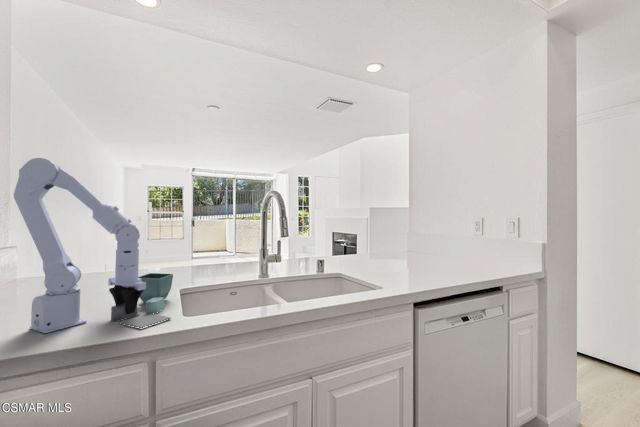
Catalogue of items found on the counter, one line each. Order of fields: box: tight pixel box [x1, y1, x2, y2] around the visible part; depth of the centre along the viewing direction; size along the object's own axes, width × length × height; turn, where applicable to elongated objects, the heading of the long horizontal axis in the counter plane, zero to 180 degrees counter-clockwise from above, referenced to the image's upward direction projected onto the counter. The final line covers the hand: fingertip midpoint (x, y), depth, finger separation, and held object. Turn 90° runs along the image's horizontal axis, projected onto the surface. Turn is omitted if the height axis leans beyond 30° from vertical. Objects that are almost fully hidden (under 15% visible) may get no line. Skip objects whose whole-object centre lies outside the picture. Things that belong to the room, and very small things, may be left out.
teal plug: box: [145, 297, 166, 314], centre depth 97 cm, size 8×3×4 cm, turn 4°
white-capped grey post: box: [110, 303, 143, 322], centre depth 90 cm, size 8×3×4 cm, turn 154°
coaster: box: [119, 313, 171, 328], centre depth 86 cm, size 9×9×1 cm
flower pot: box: [138, 272, 174, 304], centre depth 107 cm, size 9×9×9 cm
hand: (126, 312), depth 90 cm, fingers closed on white-capped grey post, 3 cm apart
